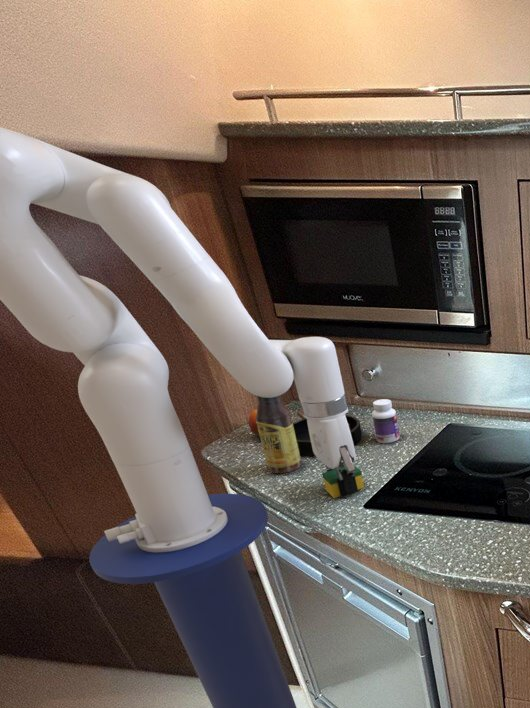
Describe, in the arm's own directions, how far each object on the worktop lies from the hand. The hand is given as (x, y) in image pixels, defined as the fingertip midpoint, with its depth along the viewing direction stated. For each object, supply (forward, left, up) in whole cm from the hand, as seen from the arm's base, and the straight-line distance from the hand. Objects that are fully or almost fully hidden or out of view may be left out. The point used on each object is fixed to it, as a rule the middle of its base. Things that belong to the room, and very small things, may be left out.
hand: (344, 488), depth 101 cm
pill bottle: (+17, +17, 0) cm, 24 cm away
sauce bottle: (-5, +17, 0) cm, 18 cm away
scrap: (+10, +25, +1) cm, 27 cm away
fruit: (-2, +37, 0) cm, 37 cm away
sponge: (0, 0, 0) cm, 0 cm away
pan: (+6, +28, 0) cm, 29 cm away
